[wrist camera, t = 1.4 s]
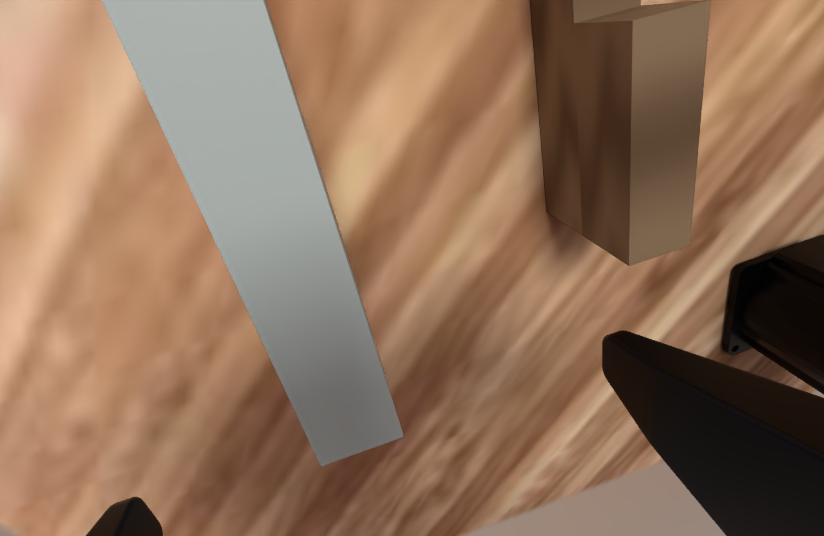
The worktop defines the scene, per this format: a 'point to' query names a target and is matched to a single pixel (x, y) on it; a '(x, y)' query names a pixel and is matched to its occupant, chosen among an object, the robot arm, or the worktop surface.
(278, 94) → the slotted top plate
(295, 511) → the worktop surface
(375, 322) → the worktop surface
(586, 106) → the slotted base plate
